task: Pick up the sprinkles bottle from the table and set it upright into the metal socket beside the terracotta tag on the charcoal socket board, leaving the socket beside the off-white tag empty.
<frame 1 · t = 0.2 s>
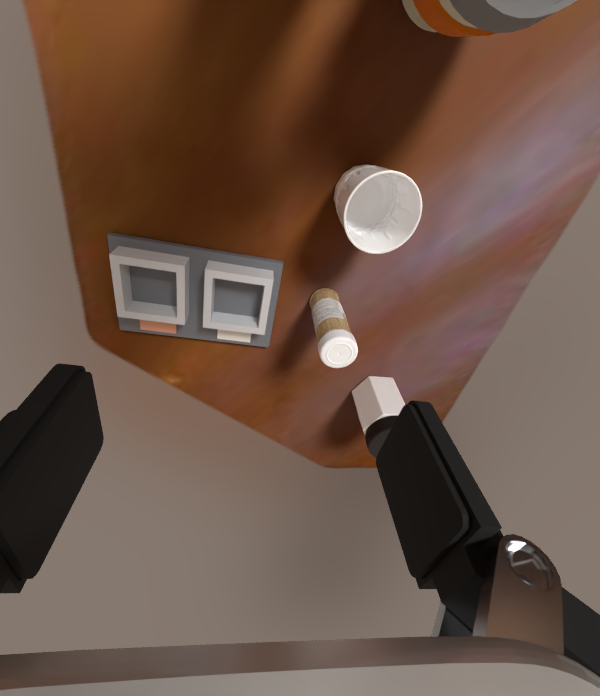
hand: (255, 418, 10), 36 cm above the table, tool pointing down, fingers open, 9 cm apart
jar: (374, 391, 61), on the table
sprinkles bottle: (323, 299, 49), on the table
socket board: (199, 295, 47), on the table
white cup: (359, 194, 41), on the table
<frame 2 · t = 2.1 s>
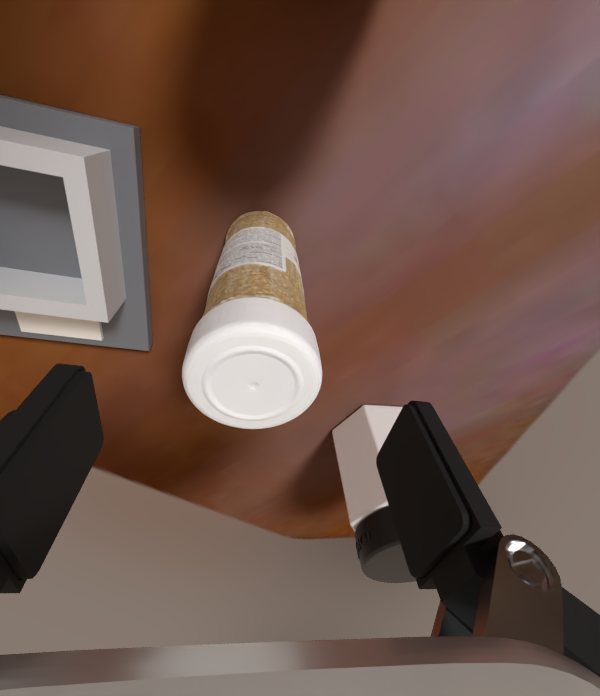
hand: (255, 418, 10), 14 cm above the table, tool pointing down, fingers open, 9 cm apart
jar: (373, 429, 34), on the table
sprinkles bottle: (260, 243, 21), on the table
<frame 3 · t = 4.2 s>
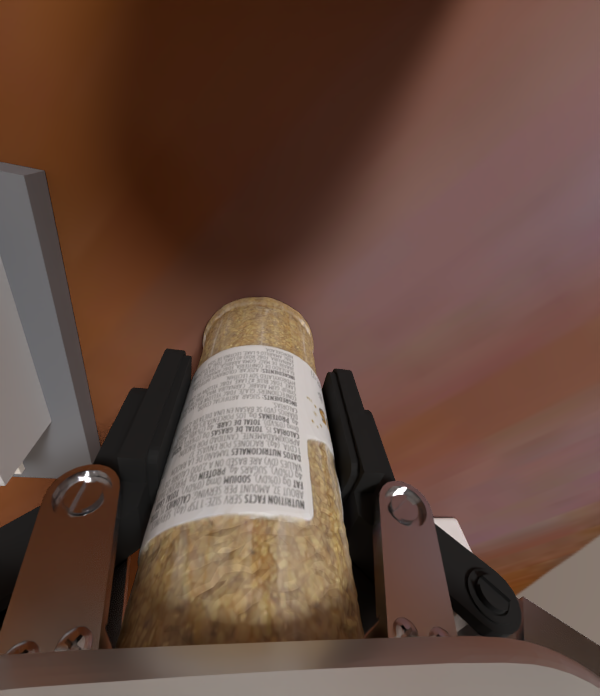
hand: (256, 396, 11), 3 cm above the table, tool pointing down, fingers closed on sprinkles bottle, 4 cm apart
jar: (406, 539, 26), on the table
sprinkles bottle: (258, 338, 14), on the table, touching gripper
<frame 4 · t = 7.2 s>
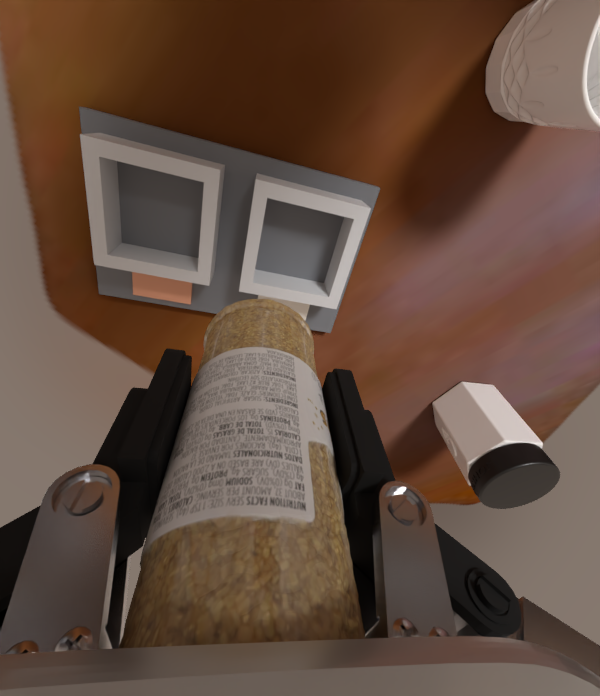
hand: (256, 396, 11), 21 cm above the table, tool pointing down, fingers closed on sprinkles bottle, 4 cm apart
jar: (461, 403, 43), on the table
sprinkles bottle: (259, 339, 14), point 18 cm above the table, touching gripper
socket board: (232, 240, 29), on the table
white cup: (529, 63, 23), on the table
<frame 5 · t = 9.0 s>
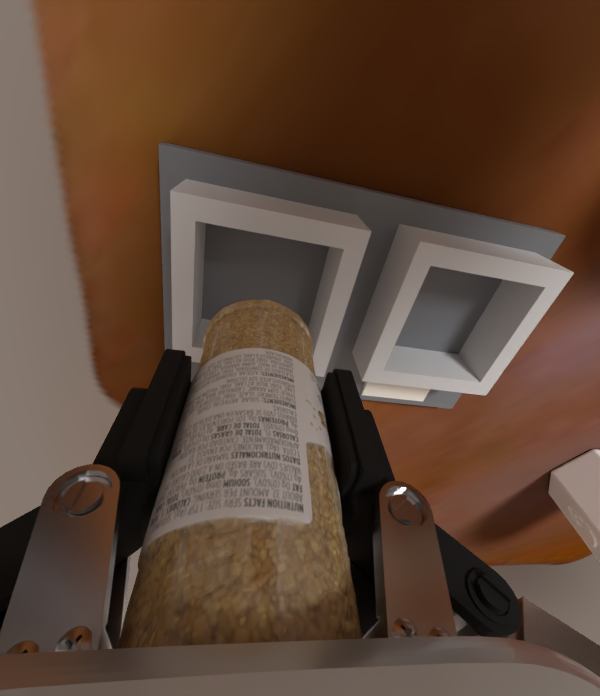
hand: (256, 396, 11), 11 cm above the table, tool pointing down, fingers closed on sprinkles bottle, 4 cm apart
jar: (584, 470, 36), on the table
sprinkles bottle: (258, 340, 14), point 7 cm above the table, touching gripper
socket board: (344, 306, 21), on the table
when the fingers open (6 cm above the table, at t = 10.4 s): sprinkles bottle drops 1 cm, resting on socket board.
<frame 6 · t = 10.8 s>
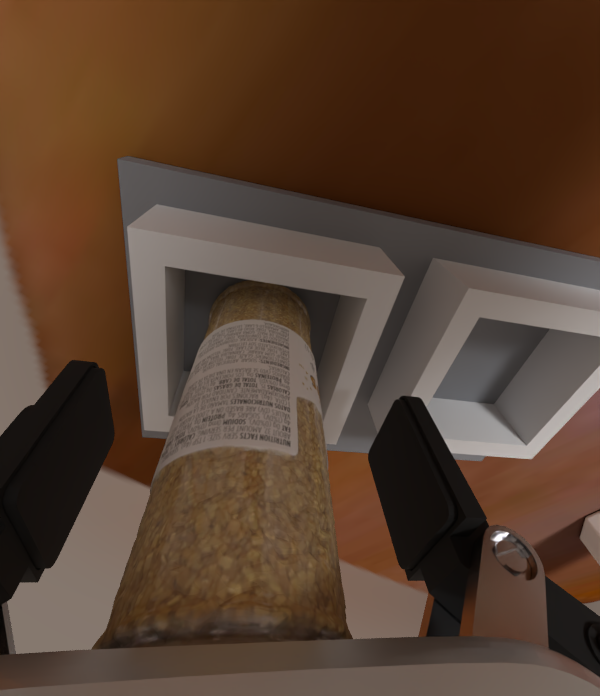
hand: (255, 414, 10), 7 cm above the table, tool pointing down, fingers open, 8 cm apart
sprinkles bottle: (260, 319, 15), point 1 cm above the table, touching socket board
socket board: (358, 351, 17), on the table
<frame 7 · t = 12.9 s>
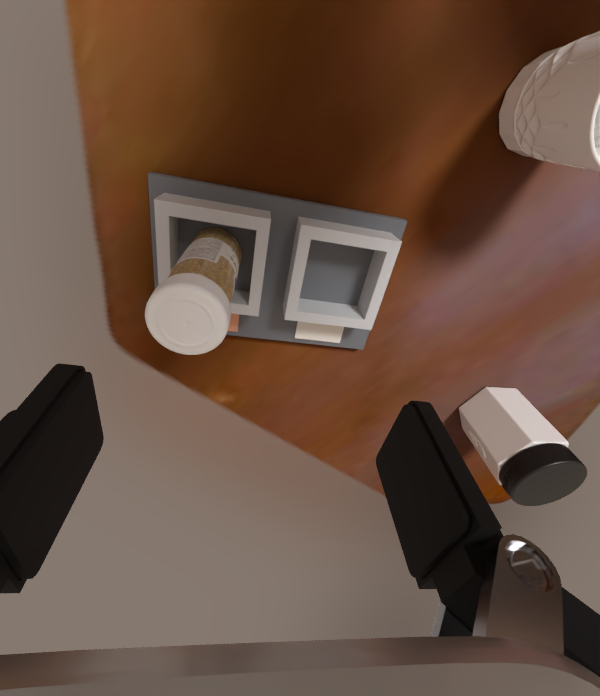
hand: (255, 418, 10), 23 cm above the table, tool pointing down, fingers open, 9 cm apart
jar: (486, 407, 46), on the table
sprinkles bottle: (216, 251, 29), point 1 cm above the table, touching socket board
socket board: (274, 273, 32), on the table
white cup: (537, 106, 26), on the table
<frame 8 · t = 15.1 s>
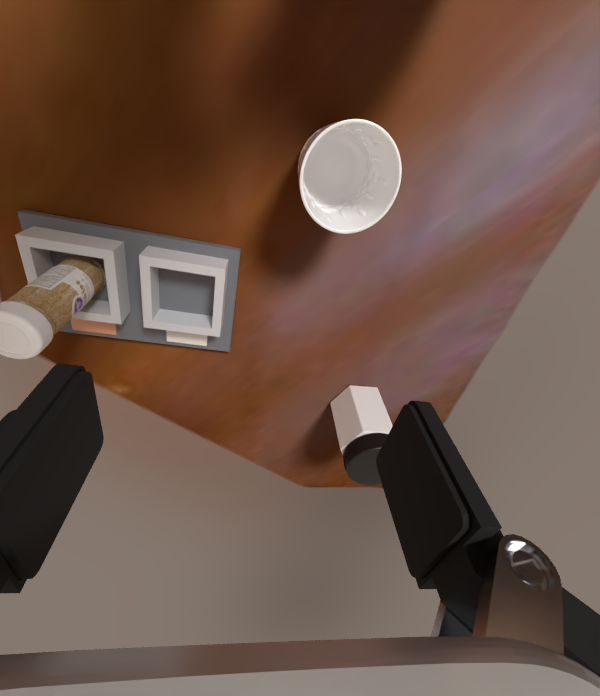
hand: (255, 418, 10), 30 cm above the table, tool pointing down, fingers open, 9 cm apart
jar: (356, 402, 53), on the table
sprinkles bottle: (86, 271, 37), point 1 cm above the table, touching socket board
socket board: (142, 288, 39), on the table
white cup: (330, 165, 33), on the table
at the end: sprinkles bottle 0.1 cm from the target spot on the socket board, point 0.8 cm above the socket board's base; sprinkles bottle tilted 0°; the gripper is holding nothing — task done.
